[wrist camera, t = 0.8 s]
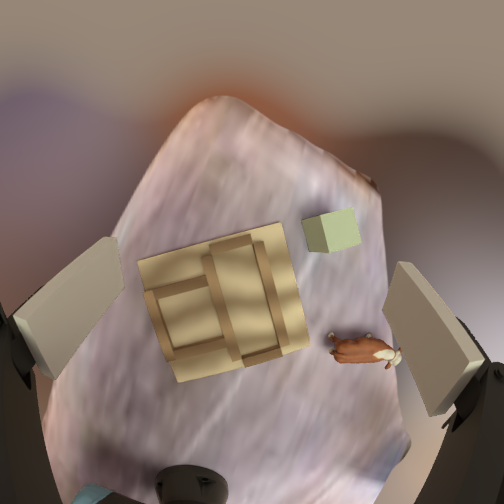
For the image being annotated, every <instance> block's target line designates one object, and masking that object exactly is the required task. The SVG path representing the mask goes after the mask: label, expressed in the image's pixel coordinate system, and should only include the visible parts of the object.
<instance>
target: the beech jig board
mask: <svg viewBox="0 0 504 504" xmlns="http://www.w3.org/2000/svg"><path fill="white" fill-rule="evenodd" d="M137 264H138V268H139V272H140V275H141V279H142V282H143V285H144V289H145V291H144V292H143V295H144V299H145V302H146V305H147V308H148V311H149V314H150V317H151V320H152V323H153V326H154V329H155V332H156V335H157V337H158V340H159V343H160V346H161V348H162V351H163V354H164V356H165V359H166V361H167V362H170V364H171V367H172V369H173V372H174V374H175V377H176V379H177V382H178V383H179V382H184V381H189V380H193V379H198V378H202V377H206V376H210V375H214V374H218V373H222V372H226V371H230V370H234V369H237V368H241V367H245V368H246V367H249V366H252V365H256V364H259V363H263V362H266V361H269V360H272V359H276V358H279V357H282V356H283V355H284V354H287V353H290V352H293V351H296V350H299V349H302V348H305V347H307V346H310V345H311V344H310V339H309V335H308V330H307V326H306V322H305V317H304V313H303V309H302V304H301V300H300V296H299V292H298V288H297V284H296V280H295V275H294V271H293V267H292V263H291V259H290V256H289V252H288V248H287V244H286V240H285V236H284V232H283V228H282V225H281V222H279V223H275V224H271V225H267V226H263V227H260V228H256V229H252V230H248V231H244V232H241V233H237V234H233V235H229V236H226V237H222V238H218V239H215V240H211V241H207V242H203V243H200V244H196V245H193V246H189V247H185V248H182V249H178V250H175V251H171V252H167V253H164V254H160V255H157V256H153V257H150V258H146V259H143V260H139V261H137Z"/></svg>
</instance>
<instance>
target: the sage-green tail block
mask: <svg viewBox="0 0 504 504" xmlns="http://www.w3.org/2000/svg"><path fill="white" fill-rule="evenodd" d="M301 221H302V225H303V229H304V233H305V237H306V241H307V245H308V249H309V252H321V253H332V252H335V251H338V250H341V249H345V248H348V247H351V246H354V245H358V244H361V239H360V234H359V230H358V226H357V222H356V218H355V214H354V210H353V207H351V208H347V209H343V210H339V211H335V212H331V213H327V214H323V215H319V216H315V217H311V218H308V219H304V220H301Z"/></svg>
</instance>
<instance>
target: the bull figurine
mask: <svg viewBox="0 0 504 504" xmlns="http://www.w3.org/2000/svg"><path fill="white" fill-rule="evenodd" d="M371 336H372V334H371V333H368V334H367V336H366V338H365V337H360V338H356V339H354V340H351V339H345V340H341V339H339V338H336V337H335V336H334V332H330V334H328V337H330V340H331V341H333V342H334V343H335V348H334V349H332V348H331V349H329V353H330V354H331V355H334V358H335V360H336V361H337V362H339V363H374V362H379V361H381V360H388V364H387V365H386V366H385V369H389V368H390V366H391V365H394V366H395V365H397V364H398V363H399V362H400V361H401V355H400V353H401V352H402V350H401V348H399V349H398V351H397V352H396V351H395V350H394V349H393V348H392V347H390V346H389V345H387V344H386V343H385V342H384V341H382V340H380V339H375V338H373V337H371Z"/></svg>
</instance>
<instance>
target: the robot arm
mask: <svg viewBox="0 0 504 504" xmlns="http://www.w3.org/2000/svg"><path fill="white" fill-rule="evenodd" d="M124 288H125V287H124V281H123V275H122V269H121V263H120V257H119V250H118V242H117V238H114V237H103V238H102V239H100V240H99V241H98V242H97V243H95V244H94V245H93V246H91V247H90V248H89V249H88V250H86V251H85V252H84V253H83V254H81V255H80V256H79V257H78V258H76V259H75V260H74V261H73V262H71V263H70V264H69V265H68V266H67V267H66V268H64V269H63V270H62V271H61V272H59V273H58V274H57V275H56V276H55V277H54V278H53V279H51V280H50V281H49V282H48V283H47V284H45V285H43V286H42V287H40V288H39V289H38V290H37V291H36V292H35V293H34V295H31V297H29V298H28V300H26V301H25V302H24V303H23V304H22V305H21V306H20V307H19V308H18V309H17V310H15V311H14V312H13V313H12V314H11V315H10V316H9V317H8V318H6V315H5V313H4V311H3V308H2V305H1V303H0V504H63V503H62V501H61V498H60V495H59V492H58V489H57V486H56V483H55V480H54V477H53V473H52V470H51V466H50V462H49V459H48V455H47V450H46V446H45V442H44V437H43V432H42V426H41V420H40V414H39V407H38V399H37V391H36V380H35V374H34V371H33V369H32V367H33V366H34V365H35V363H36V364H37V366H38V368H39V369H40V371H41V373H42V374H43V375H46V376H48V377H50V378H52V379H54V380H56V379H57V378H58V376H59V375H60V373H61V372H62V371H63V369H64V368H65V366H66V365H67V363H68V362H69V360H70V359H71V358H72V356H73V355H74V353H75V352H76V350H77V349H78V348H79V346H80V345H81V344H82V342H83V341H84V339H85V338H86V337H87V335H88V334H89V333H90V331H91V330H92V329H93V327H94V326H95V325H96V323H97V322H98V321H99V319H100V318H101V317H102V316H103V314H104V313H105V312H106V310H107V309H108V308H109V307H110V305H111V304H112V303H113V302H114V300H115V299H116V298H117V296H118V295H119V294H120V293H121V292H122V290H123V289H124ZM382 311H383V313H384V315H385V317H386V319H387V321H388V323H389V325H390V327H391V329H392V331H393V333H394V335H395V338H396V340H397V342H398V344H399V346H400V348H401V350H402V353H403V355H404V357H405V359H406V361H407V364H408V366H409V368H410V371H411V373H412V375H413V377H414V380H415V382H416V385H417V387H418V389H419V392H420V394H421V397H422V399H423V402H424V404H425V407H426V410H427V412H428V415H429V417H432V416H437V415H441V414H445V413H446V412H447V411H448V409H449V408H450V407H451V406H452V404H453V403H454V404H455V407H456V411H455V412H454V413H453V414H452V415H451V416H450V417H449V419H448V420H447V421H446V422H445V423H444V424H443V426H442V429H444V428H445V427H446V426H447V424H449V426H448V429H447V432H446V434H445V437H444V440H443V443H442V446H441V448H440V450H439V453H438V455H437V457H436V460H435V462H434V464H433V467H432V469H431V471H430V474H429V476H428V478H427V480H426V482H425V484H424V486H423V488H422V490H421V492H420V493H419V495H418V497H417V499H416V501H415V503H414V504H504V364H503V363H500V362H493V363H491V361H490V359H489V358H488V356H487V355H486V353H485V352H484V350H483V349H482V347H481V346H480V345H479V343H478V342H477V340H475V337H474V336H473V334H471V333H470V330H469V329H468V328H467V326H466V325H465V323H463V322H462V321H461V320H460V319H458V318H457V317H456V316H454V314H453V313H452V312H451V310H450V309H449V308H448V307H447V305H446V304H445V303H444V301H443V300H442V299H441V298H440V296H439V295H438V294H437V293H436V291H435V290H434V289H433V288H432V287H431V285H430V284H429V283H428V282H427V281H426V279H425V278H424V277H423V276H422V275H421V273H420V272H419V271H418V270H417V269H416V268H415V267H414V265H413V264H412V263H411V262H400V261H398V262H397V266H396V269H395V272H394V275H393V279H392V282H391V285H390V288H389V291H388V294H387V297H386V300H385V303H384V306H383V309H382ZM155 490H156V493H157V497H158V500H159V503H160V504H226V501H227V498H228V485H227V482H226V481H225V479H224V478H223V477H222V476H220V475H219V474H217V473H215V472H213V471H211V470H209V469H206V468H202V467H197V466H187V465H182V466H174V467H170V468H167V469H164V470H163V471H161V472H160V473H159V474H158V476H157V478H156V483H155ZM71 504H144V503H141V502H139V501H136V500H133V499H131V498H128V497H126V496H123V495H121V494H119V493H116V492H115V491H114V490H109V489H107V488H104V487H102V486H100V485H97V484H94V483H89V484H86V485H85V486H84V487H83V488H82V489H81V490H80V491H79V492H78V494H77V495H76V496H75V498H74V499H73V501H72V503H71Z"/></svg>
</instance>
